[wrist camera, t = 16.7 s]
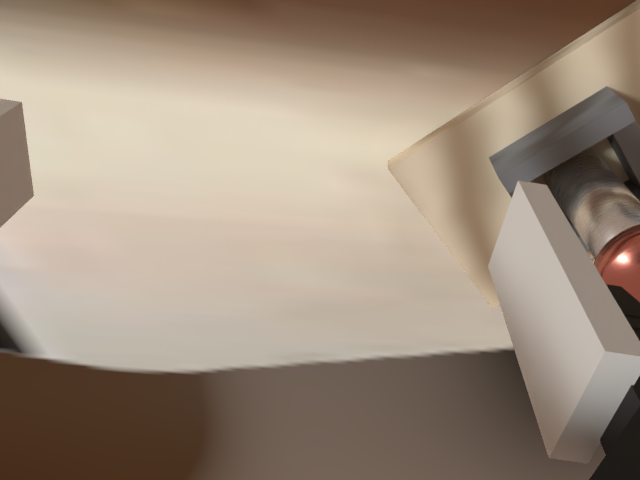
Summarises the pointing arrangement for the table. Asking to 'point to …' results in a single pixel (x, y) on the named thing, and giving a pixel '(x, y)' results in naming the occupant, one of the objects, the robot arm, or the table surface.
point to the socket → (528, 141)
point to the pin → (601, 216)
